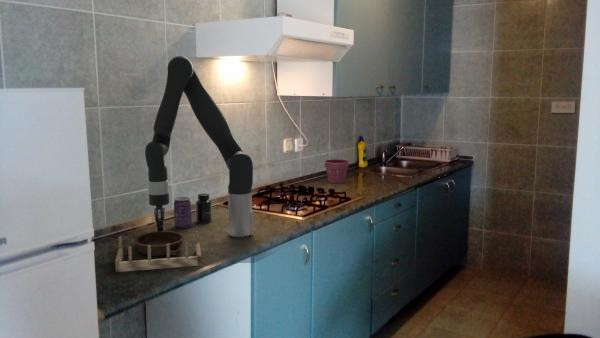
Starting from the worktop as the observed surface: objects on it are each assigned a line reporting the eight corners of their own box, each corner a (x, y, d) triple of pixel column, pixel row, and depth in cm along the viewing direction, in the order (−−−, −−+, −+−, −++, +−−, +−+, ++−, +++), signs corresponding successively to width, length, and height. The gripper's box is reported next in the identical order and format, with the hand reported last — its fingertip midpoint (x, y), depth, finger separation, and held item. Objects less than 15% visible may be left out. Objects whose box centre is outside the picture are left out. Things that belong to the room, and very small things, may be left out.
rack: (199, 250, 192) (198, 229, 190) (201, 265, 177) (200, 242, 176) (119, 256, 185) (118, 234, 184) (115, 272, 171) (114, 248, 170)
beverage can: (182, 223, 227) (181, 195, 225) (195, 225, 223) (194, 198, 221) (171, 227, 221) (169, 199, 219) (183, 229, 217) (182, 201, 215)
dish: (161, 239, 206) (160, 226, 205) (198, 251, 192) (198, 237, 192) (121, 250, 192) (120, 237, 192) (159, 264, 179) (158, 250, 178)
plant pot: (326, 179, 323) (326, 158, 320) (349, 180, 320) (349, 159, 318) (322, 183, 309) (323, 162, 307) (346, 185, 306) (347, 163, 304)
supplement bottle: (209, 223, 226) (208, 196, 224) (193, 223, 227) (192, 195, 225) (214, 219, 233) (213, 193, 231) (199, 218, 234) (198, 192, 232)
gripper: (168, 195, 197) (170, 240, 200) (168, 187, 210) (170, 230, 213) (147, 196, 195) (149, 241, 198) (149, 188, 208) (151, 231, 211)
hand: (160, 235), depth 205 cm, fingers closed
